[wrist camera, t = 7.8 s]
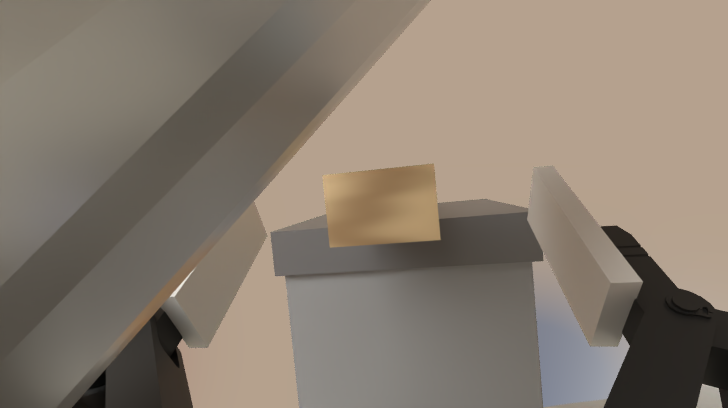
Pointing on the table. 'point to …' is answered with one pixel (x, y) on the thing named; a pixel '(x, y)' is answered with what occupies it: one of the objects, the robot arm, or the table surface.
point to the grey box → (416, 314)
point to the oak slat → (382, 206)
